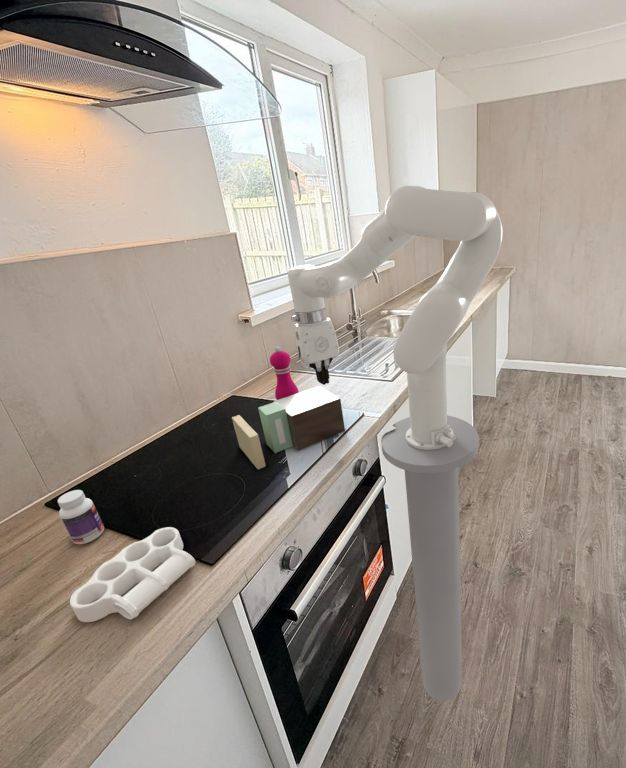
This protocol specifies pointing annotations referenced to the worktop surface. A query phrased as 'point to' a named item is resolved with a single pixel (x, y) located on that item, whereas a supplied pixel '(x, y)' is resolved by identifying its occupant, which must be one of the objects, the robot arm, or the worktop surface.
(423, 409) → the robot arm
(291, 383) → the pepper mill
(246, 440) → the rail
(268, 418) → the tissue box
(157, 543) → the knuckle duster
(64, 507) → the pill bottle
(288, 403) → the block
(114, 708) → the worktop surface
